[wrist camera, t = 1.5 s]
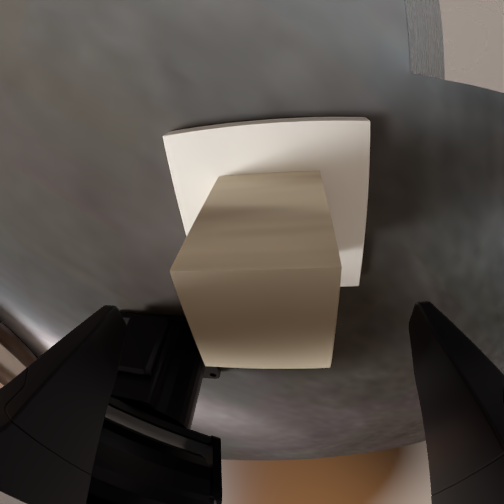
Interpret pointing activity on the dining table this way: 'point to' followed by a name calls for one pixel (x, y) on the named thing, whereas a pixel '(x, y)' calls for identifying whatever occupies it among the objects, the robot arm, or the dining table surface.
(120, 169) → the dining table surface
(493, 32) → the plate
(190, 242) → the birch peg
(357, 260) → the white square tile
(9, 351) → the plant saucer
